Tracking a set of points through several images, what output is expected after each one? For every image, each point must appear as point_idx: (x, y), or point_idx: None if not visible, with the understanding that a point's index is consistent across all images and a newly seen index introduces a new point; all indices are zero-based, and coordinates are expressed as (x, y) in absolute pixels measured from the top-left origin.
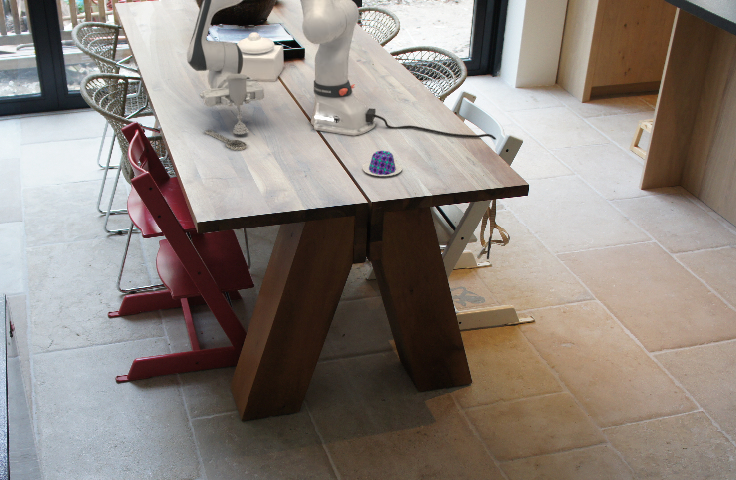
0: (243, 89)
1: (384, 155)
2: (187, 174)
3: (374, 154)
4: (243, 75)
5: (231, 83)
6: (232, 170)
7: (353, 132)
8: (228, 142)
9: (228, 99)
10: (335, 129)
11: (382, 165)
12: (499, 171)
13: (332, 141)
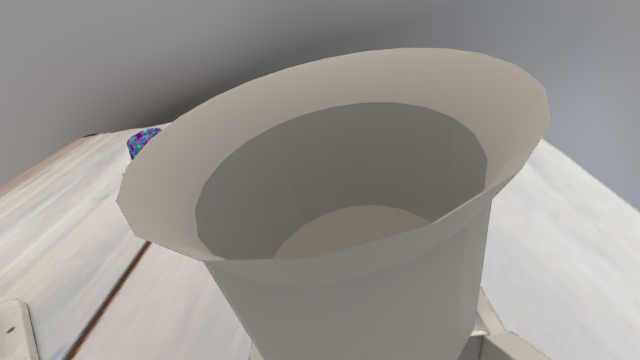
0: (300, 182)
1: (143, 136)
2: (547, 146)
3: (155, 134)
4: (147, 208)
5: (419, 100)
6: None
7: (12, 302)
8: None
9: (481, 332)
10: (16, 341)
11: None
12: (50, 158)
13: (106, 278)
